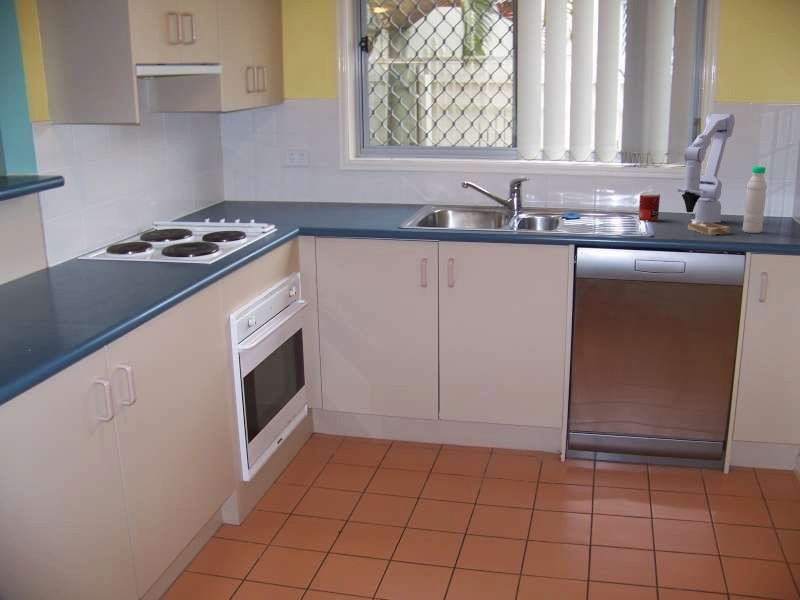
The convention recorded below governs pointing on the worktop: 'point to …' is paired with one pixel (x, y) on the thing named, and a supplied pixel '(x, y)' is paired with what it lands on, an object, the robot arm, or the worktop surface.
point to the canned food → (649, 206)
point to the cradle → (709, 228)
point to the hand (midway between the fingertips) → (689, 212)
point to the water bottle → (755, 201)
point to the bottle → (699, 223)
